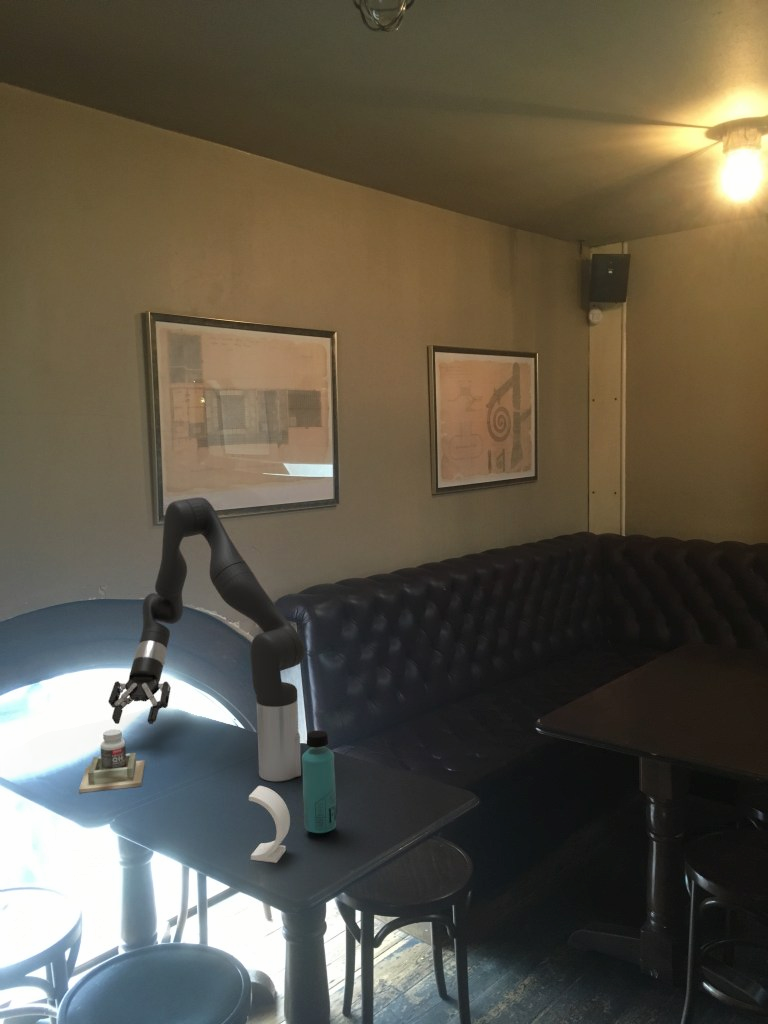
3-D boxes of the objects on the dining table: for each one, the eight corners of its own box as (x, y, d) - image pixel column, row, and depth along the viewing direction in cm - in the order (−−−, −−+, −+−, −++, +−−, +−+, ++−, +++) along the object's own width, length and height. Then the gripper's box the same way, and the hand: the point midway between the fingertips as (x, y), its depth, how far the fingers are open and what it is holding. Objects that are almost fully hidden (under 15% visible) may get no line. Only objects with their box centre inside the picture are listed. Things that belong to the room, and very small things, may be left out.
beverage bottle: (332, 842, 153) (329, 740, 151) (298, 839, 154) (295, 738, 152) (341, 826, 159) (338, 727, 157) (308, 823, 160) (306, 725, 159)
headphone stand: (260, 847, 152) (258, 785, 150) (291, 850, 150) (289, 788, 149) (250, 859, 147) (248, 796, 146) (281, 863, 146) (279, 799, 145)
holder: (144, 763, 192) (144, 749, 192) (141, 786, 179) (140, 770, 179) (87, 769, 189) (86, 754, 189) (79, 792, 177) (78, 777, 176)
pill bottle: (116, 779, 181) (114, 737, 180) (96, 777, 183) (94, 735, 182) (131, 770, 186) (129, 729, 185) (111, 767, 188) (109, 726, 187)
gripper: (116, 655, 203) (99, 715, 193) (171, 655, 202) (157, 715, 192) (126, 670, 209) (109, 729, 199) (179, 670, 208) (166, 729, 197)
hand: (133, 722), depth 195 cm, fingers open, 8 cm apart
